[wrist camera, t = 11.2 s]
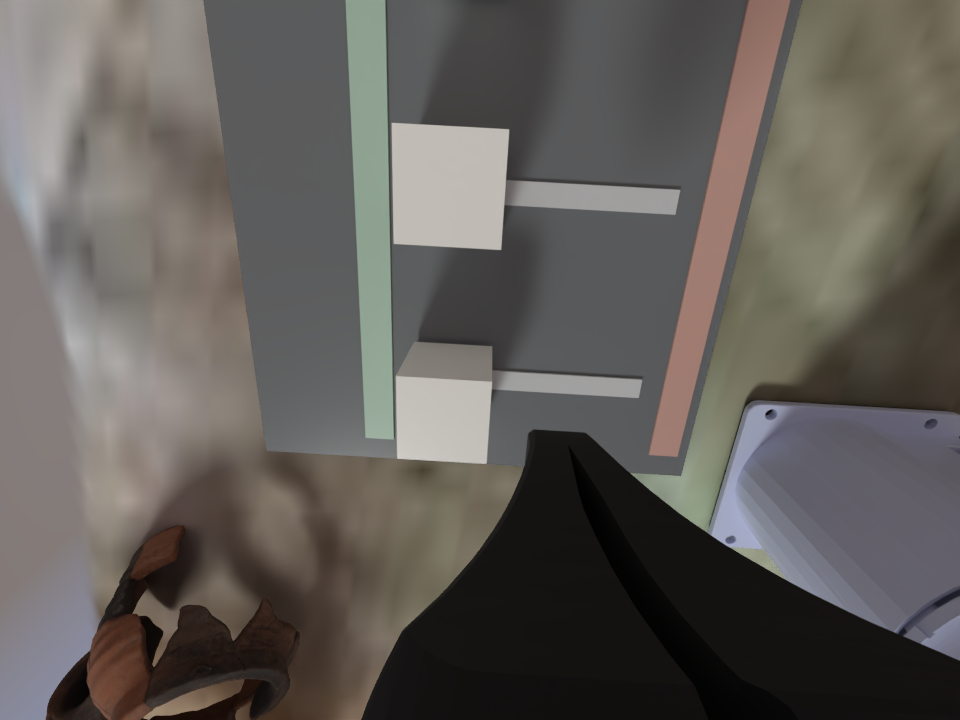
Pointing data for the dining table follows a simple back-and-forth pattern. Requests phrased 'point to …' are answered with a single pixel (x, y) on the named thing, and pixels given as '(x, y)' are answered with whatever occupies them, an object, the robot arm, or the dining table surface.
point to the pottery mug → (173, 655)
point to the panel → (527, 207)
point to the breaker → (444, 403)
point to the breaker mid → (448, 185)
